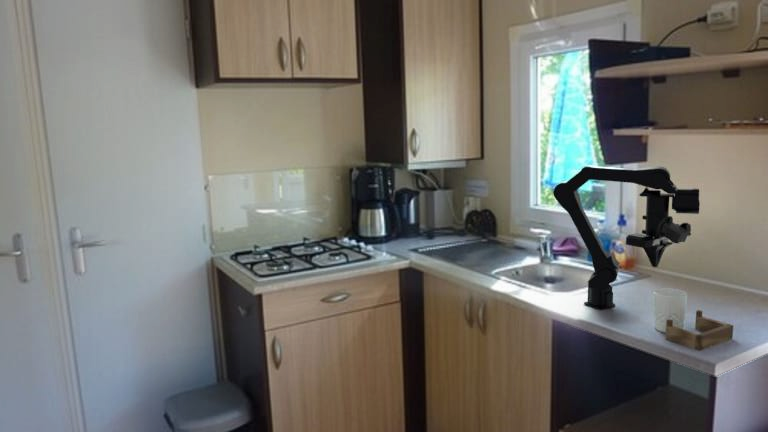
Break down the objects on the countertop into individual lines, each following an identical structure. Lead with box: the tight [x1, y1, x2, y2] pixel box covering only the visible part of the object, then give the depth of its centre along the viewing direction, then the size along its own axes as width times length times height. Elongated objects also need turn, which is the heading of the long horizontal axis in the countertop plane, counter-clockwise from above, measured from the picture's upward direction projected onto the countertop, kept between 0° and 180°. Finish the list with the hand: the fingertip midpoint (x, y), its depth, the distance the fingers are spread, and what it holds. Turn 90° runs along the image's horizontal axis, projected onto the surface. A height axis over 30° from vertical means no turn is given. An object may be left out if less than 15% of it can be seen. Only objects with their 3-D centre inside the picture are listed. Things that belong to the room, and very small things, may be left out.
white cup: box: [653, 287, 688, 334], centre depth 154 cm, size 8×8×10 cm
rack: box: [664, 309, 734, 352], centre depth 147 cm, size 9×13×5 cm
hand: (654, 266), depth 166 cm, fingers closed
